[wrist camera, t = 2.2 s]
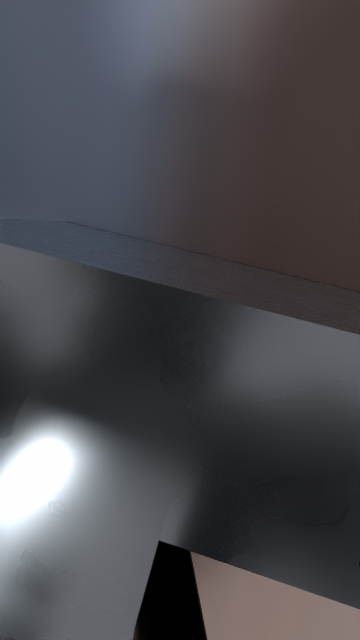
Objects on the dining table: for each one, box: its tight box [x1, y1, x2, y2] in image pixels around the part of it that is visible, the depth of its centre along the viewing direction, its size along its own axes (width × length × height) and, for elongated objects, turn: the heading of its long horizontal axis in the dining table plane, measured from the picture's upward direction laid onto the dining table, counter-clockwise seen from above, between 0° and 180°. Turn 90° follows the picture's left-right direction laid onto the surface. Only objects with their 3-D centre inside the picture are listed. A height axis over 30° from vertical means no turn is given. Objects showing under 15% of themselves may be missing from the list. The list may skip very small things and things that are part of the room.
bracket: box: [0, 219, 360, 640], centre depth 6 cm, size 9×9×4 cm
